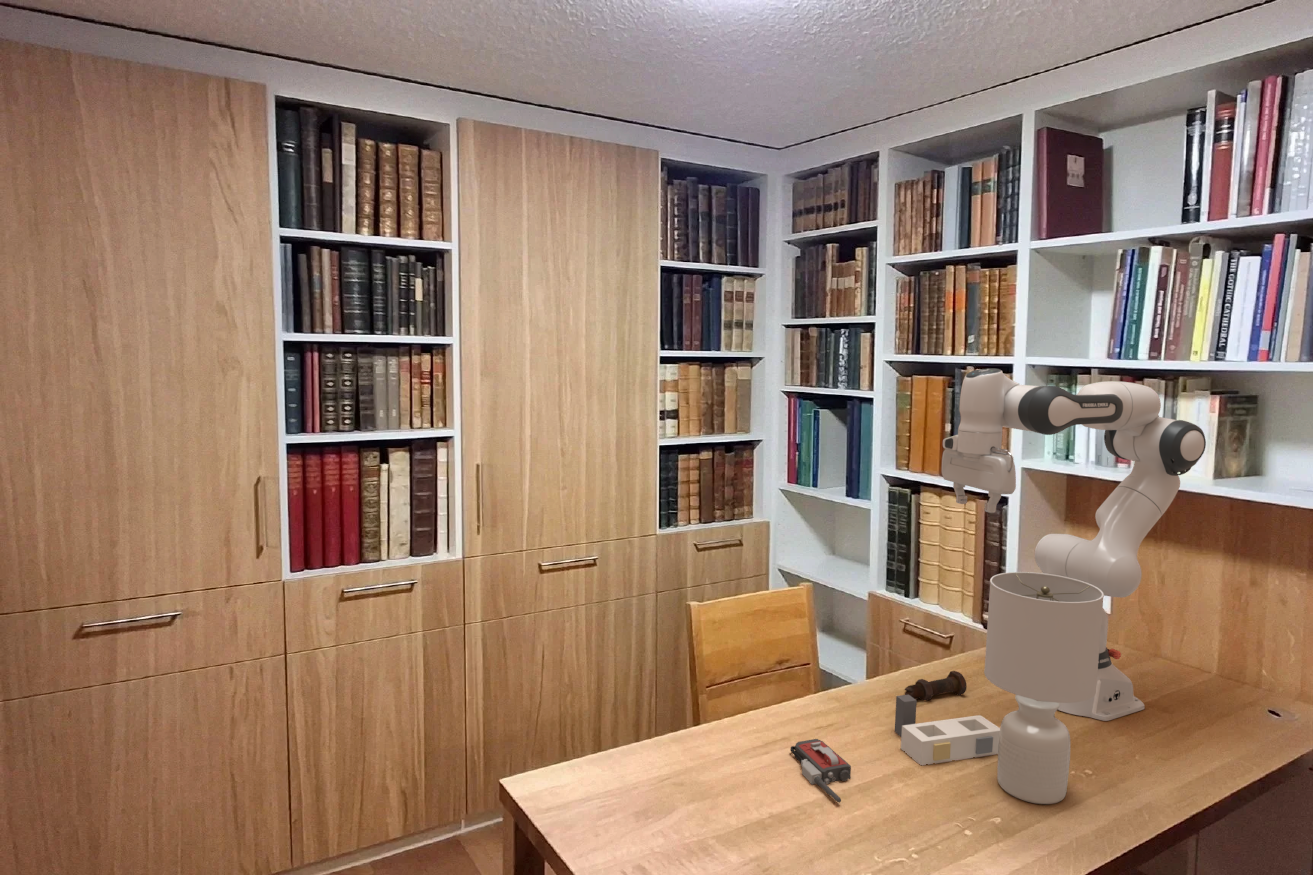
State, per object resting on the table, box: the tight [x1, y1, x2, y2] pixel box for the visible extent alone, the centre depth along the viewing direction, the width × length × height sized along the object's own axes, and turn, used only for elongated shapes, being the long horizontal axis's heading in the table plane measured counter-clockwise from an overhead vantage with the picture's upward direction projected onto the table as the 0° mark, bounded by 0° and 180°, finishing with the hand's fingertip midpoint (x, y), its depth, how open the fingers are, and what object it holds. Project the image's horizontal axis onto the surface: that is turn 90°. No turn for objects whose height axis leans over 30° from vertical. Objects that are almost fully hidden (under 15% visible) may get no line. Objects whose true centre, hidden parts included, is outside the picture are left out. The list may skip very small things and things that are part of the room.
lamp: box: [983, 571, 1104, 805], centre depth 151 cm, size 19×19×39 cm
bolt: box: [904, 670, 967, 701], centre depth 192 cm, size 6×5×15 cm
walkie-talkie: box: [790, 738, 852, 803], centre depth 156 cm, size 9×4×20 cm
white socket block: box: [900, 714, 1000, 766], centre depth 166 cm, size 19×8×5 cm, turn 106°
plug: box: [894, 694, 918, 737], centre depth 173 cm, size 3×3×8 cm
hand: (975, 507), depth 176 cm, fingers open, 8 cm apart
